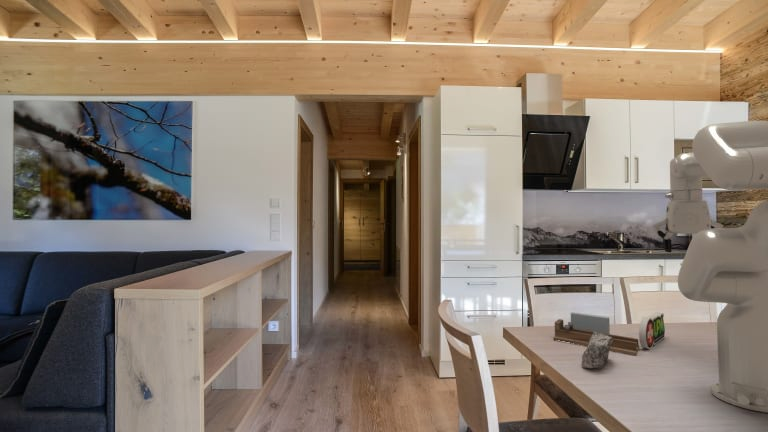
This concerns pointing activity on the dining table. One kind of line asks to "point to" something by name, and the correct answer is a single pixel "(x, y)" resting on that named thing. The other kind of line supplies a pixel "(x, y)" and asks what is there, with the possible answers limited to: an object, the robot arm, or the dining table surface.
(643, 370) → the dining table surface
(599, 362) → the rock
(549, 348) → the dining table surface
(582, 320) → the panel
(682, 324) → the dining table surface
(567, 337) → the rail
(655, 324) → the sign
